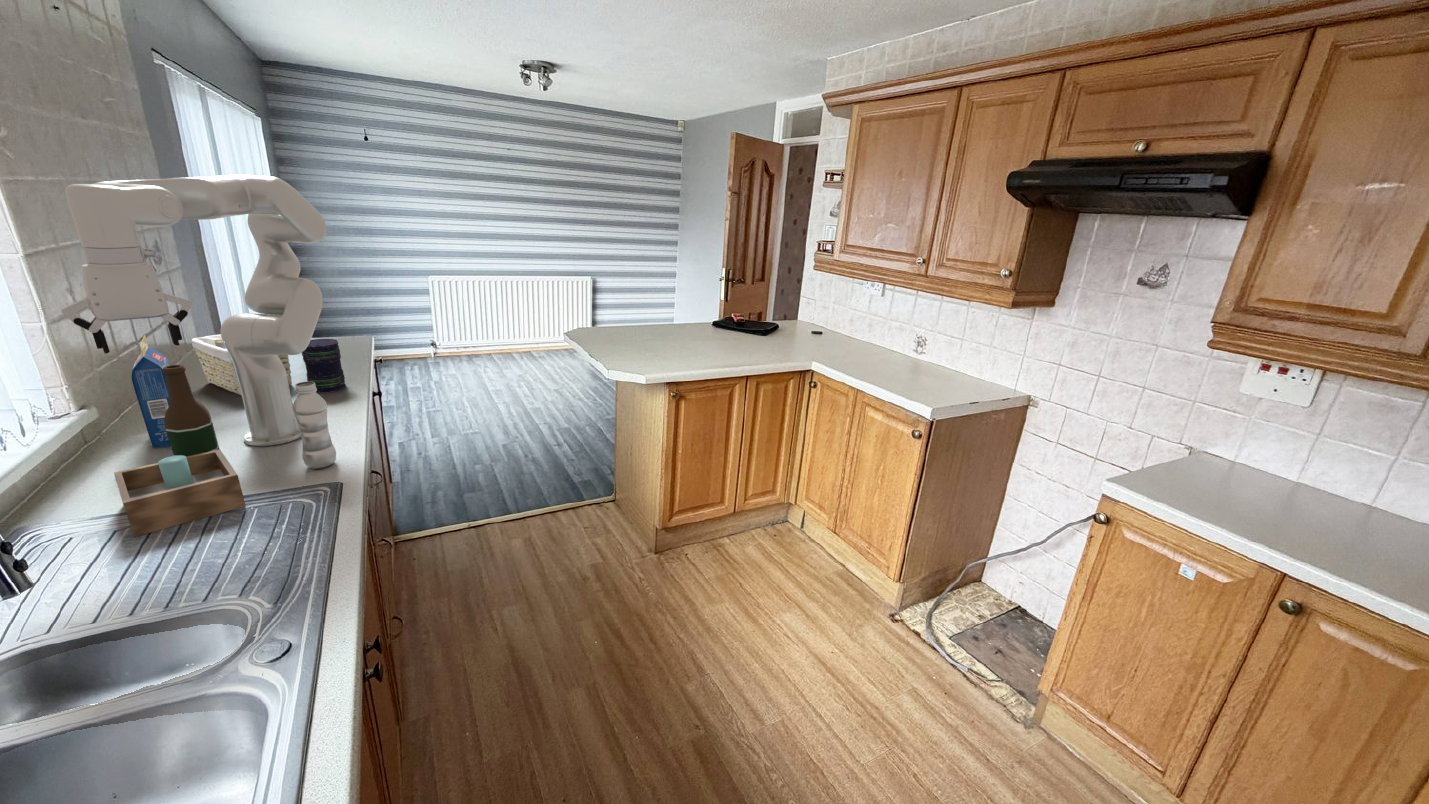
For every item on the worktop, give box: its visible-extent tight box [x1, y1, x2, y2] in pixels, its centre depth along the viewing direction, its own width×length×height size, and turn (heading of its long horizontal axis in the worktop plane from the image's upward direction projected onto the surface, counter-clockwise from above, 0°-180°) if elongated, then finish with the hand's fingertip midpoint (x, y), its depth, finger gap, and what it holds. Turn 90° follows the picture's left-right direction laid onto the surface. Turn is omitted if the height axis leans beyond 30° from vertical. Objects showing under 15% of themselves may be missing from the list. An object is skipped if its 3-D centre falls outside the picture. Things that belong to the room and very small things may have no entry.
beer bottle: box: [162, 364, 220, 457], centre depth 122 cm, size 8×8×24 cm
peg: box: [157, 455, 194, 490], centre depth 111 cm, size 4×4×10 cm
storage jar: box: [301, 338, 347, 394], centre depth 176 cm, size 10×10×15 cm
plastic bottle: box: [292, 380, 337, 470], centre depth 127 cm, size 6×7×20 cm
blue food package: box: [131, 334, 171, 449], centre depth 136 cm, size 6×12×25 cm, turn 40°
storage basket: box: [191, 333, 293, 396], centre depth 176 cm, size 24×16×15 cm
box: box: [113, 448, 246, 538], centre depth 111 cm, size 16×16×7 cm
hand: (142, 347), depth 108 cm, fingers open, 9 cm apart
